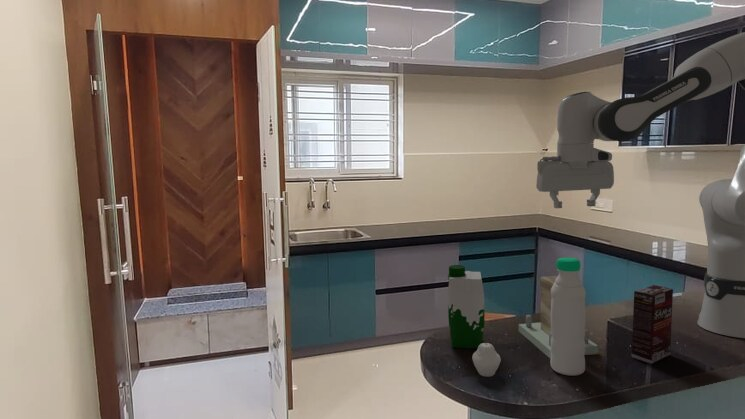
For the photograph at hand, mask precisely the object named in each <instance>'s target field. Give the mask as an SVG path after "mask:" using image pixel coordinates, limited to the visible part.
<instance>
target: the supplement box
mask: <svg viewBox="0 0 745 419" xmlns="http://www.w3.org/2000/svg"><path fill="white" fill-rule="evenodd" d="M673 295H674V289H673V288H670V287H666V286H659V285H654V284H653V285H651V286H647V287H644V288H642V289H638V290H634V291H633V311H632V312H633V314H632V315H633V316H632V317H633V318H632V337H631V338H632V339H631V357H632V358H633V359H636V360H639V361H642V362H643V363H648V364H650V365H651V364H654V363H655V362H658V361H659V360H662V359H663V358H666V357H668V356H670V355H671V348H672V347H671V346H672V342H671V340H672V324H673V321H672V319H673V301H674V300H673V297H674V296H673Z"/></svg>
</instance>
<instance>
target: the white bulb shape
mask: <svg viewBox="0 0 745 419" xmlns="http://www.w3.org/2000/svg"><path fill="white" fill-rule="evenodd" d="M471 358H472V359H471V360H472V362H473V365H474V368H475V369H476V371H477V372H478V374H479V376H482V377H485V378H488V377H493V376H494V375H495V374H496V372H497V370H498V368H499V367H500V363H501V361H502V359H501V356H500V355H499V353H497V350H495V347H494V345H493V344H491V343H489V342H482V344H480V345H479V346H478V348H476V351H474V352H473V354H472V357H471Z"/></svg>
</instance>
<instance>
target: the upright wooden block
mask: <svg viewBox="0 0 745 419" xmlns="http://www.w3.org/2000/svg"><path fill="white" fill-rule="evenodd" d="M557 277H558V276H556V275H551V276H541V277H540V322H541V330H543V331H544V332H545V333H546V334H548V335H549V333H550V332H551V300H552V296H551V288H552V286H553V284H554V283H555V280H556V278H557Z"/></svg>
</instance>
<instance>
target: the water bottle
mask: <svg viewBox="0 0 745 419" xmlns="http://www.w3.org/2000/svg"><path fill="white" fill-rule="evenodd" d="M555 263H556V270H557V272H558V275H557V276H556V277H557V278H556V280H555V283H554V284H553V286H552V288H551V296H552V300H551V334H552V337H551V358H549V359H550V367H551V368H552V370H553V371H555V372H556V373H558V374H560V375H564V376H571V377H572V376H574V377H575V376H579V375H582V374H584V372H585V371H586V358H585V355H584V354H585V341H584V337H585V330H586V322H587V321H586V317H587V316H586V296H587V292H586V289H585V287H584V285H583V284H582V280H581V279H580V277H579V273H580V270H581V261H580V259H577V258H575V257H560V258H559V257H558V259H557V260H556V262H555Z"/></svg>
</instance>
